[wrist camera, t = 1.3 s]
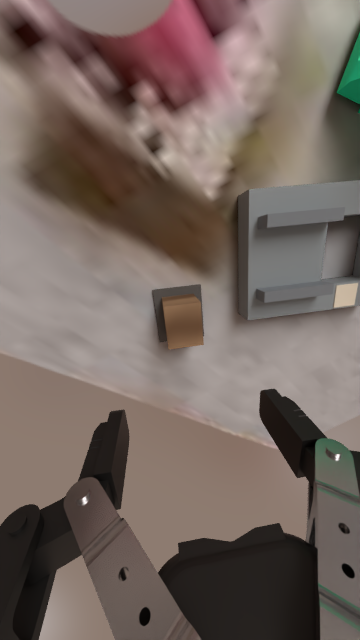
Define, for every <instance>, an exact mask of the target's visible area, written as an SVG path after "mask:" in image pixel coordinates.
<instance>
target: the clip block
mask: <svg viewBox="0 0 360 640" xmlns="http://www.w3.org/2000/svg"><path fill="white" fill-rule="evenodd" d="M162 303H163V311H164V319H165V327H166V335H167V341H168V348H169V349H176V348H183V347H190V346H198V345H204V344H203V329H202V314H201V302H200V301H199V300H198V298H197V297H196V296H195V295H194V294H186V295H178V296H170V297H162Z"/></svg>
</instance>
